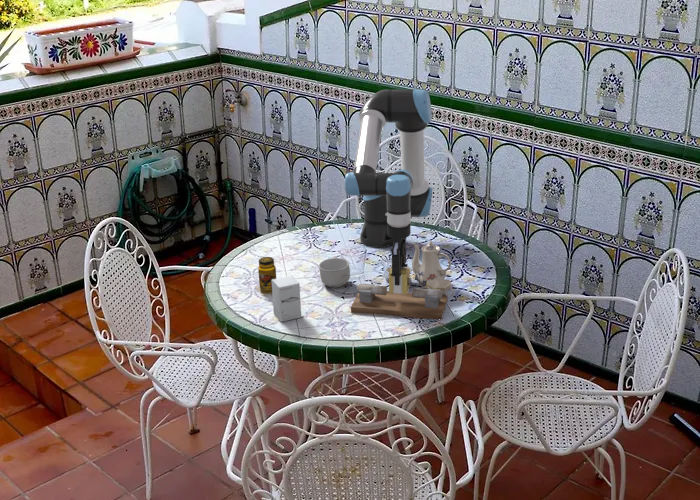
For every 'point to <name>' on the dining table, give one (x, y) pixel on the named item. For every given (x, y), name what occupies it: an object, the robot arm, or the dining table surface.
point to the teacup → (334, 272)
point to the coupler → (405, 280)
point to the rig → (399, 302)
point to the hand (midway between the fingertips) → (399, 289)
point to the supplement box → (286, 298)
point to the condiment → (266, 275)
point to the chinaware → (430, 269)
